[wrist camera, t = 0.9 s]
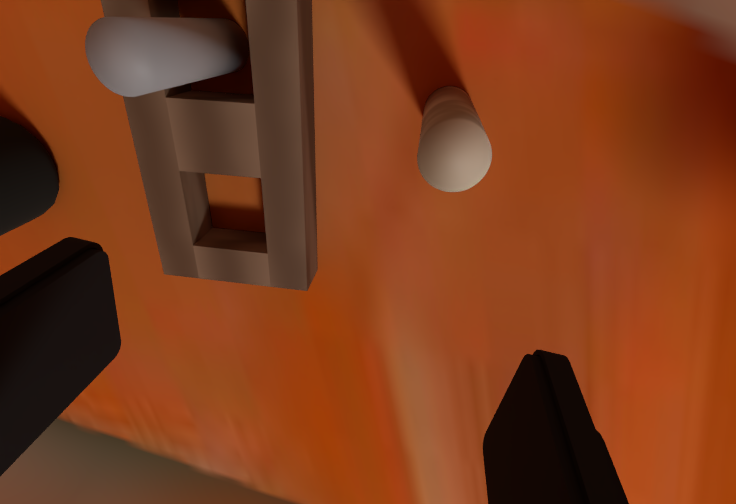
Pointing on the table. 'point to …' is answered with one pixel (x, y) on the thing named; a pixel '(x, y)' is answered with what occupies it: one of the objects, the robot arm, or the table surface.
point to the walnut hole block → (234, 153)
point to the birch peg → (452, 142)
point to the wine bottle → (24, 177)
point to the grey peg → (163, 51)
